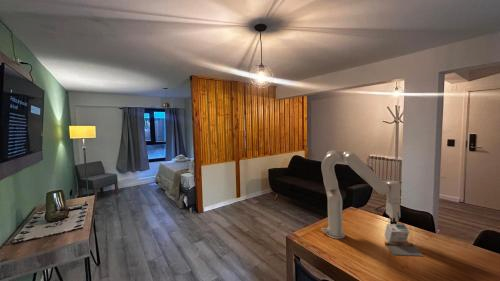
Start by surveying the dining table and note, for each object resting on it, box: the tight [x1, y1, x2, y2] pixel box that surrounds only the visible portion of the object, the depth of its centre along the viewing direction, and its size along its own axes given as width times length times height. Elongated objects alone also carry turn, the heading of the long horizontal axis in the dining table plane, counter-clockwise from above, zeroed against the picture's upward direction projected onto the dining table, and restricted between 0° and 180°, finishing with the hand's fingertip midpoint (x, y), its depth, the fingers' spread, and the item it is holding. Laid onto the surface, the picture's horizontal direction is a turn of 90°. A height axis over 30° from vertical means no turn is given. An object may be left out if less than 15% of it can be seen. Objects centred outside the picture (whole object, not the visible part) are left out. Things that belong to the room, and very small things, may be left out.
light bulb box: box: [384, 223, 410, 243], centre depth 139 cm, size 11×7×11 cm, turn 84°
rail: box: [384, 241, 414, 247], centre depth 136 cm, size 16×2×2 cm, turn 81°
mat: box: [385, 245, 424, 257], centre depth 130 cm, size 16×10×1 cm, turn 81°
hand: (393, 226), depth 142 cm, fingers closed
